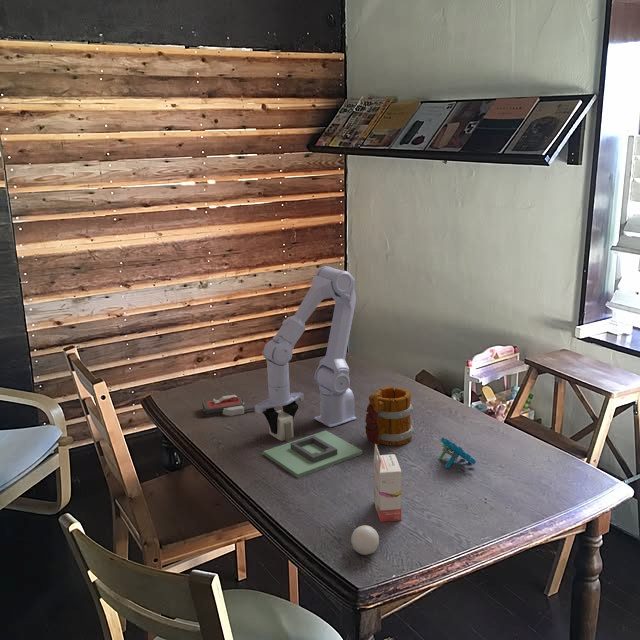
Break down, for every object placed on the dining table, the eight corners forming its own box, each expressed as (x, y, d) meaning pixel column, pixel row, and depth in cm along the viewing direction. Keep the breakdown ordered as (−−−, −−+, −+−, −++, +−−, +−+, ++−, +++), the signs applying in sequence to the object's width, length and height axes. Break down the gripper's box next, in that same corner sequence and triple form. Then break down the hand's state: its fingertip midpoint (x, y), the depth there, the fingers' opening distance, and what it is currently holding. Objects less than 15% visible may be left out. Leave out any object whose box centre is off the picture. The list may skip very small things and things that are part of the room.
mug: (421, 436, 194) (421, 384, 190) (383, 457, 183) (383, 402, 179) (389, 425, 202) (389, 375, 197) (351, 445, 190) (350, 392, 186)
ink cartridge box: (402, 521, 154) (402, 458, 150) (379, 522, 154) (379, 460, 150) (395, 500, 163) (395, 440, 159) (373, 502, 162) (372, 442, 158)
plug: (277, 427, 203) (276, 407, 201) (295, 438, 196) (294, 417, 194) (265, 431, 201) (264, 411, 199) (283, 442, 194) (282, 421, 192)
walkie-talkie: (203, 421, 209) (270, 411, 215) (202, 407, 208) (269, 397, 214) (198, 410, 217) (263, 400, 223) (197, 397, 216) (262, 387, 222)
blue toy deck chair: (484, 464, 174) (457, 441, 171) (470, 484, 173) (443, 462, 170) (461, 451, 184) (435, 430, 181) (447, 470, 184) (421, 449, 180)
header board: (325, 433, 198) (325, 425, 197) (362, 454, 185) (362, 445, 184) (263, 454, 187) (263, 445, 186) (298, 478, 174) (297, 468, 173)
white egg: (382, 559, 141) (381, 534, 140) (353, 561, 141) (352, 536, 139) (375, 537, 149) (375, 513, 147) (348, 539, 148) (347, 515, 147)
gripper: (293, 374, 201) (295, 418, 205) (247, 386, 193) (250, 432, 197) (307, 380, 195) (309, 426, 199) (261, 393, 187) (264, 441, 191)
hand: (281, 430), depth 197 cm, fingers closed on plug, 4 cm apart
